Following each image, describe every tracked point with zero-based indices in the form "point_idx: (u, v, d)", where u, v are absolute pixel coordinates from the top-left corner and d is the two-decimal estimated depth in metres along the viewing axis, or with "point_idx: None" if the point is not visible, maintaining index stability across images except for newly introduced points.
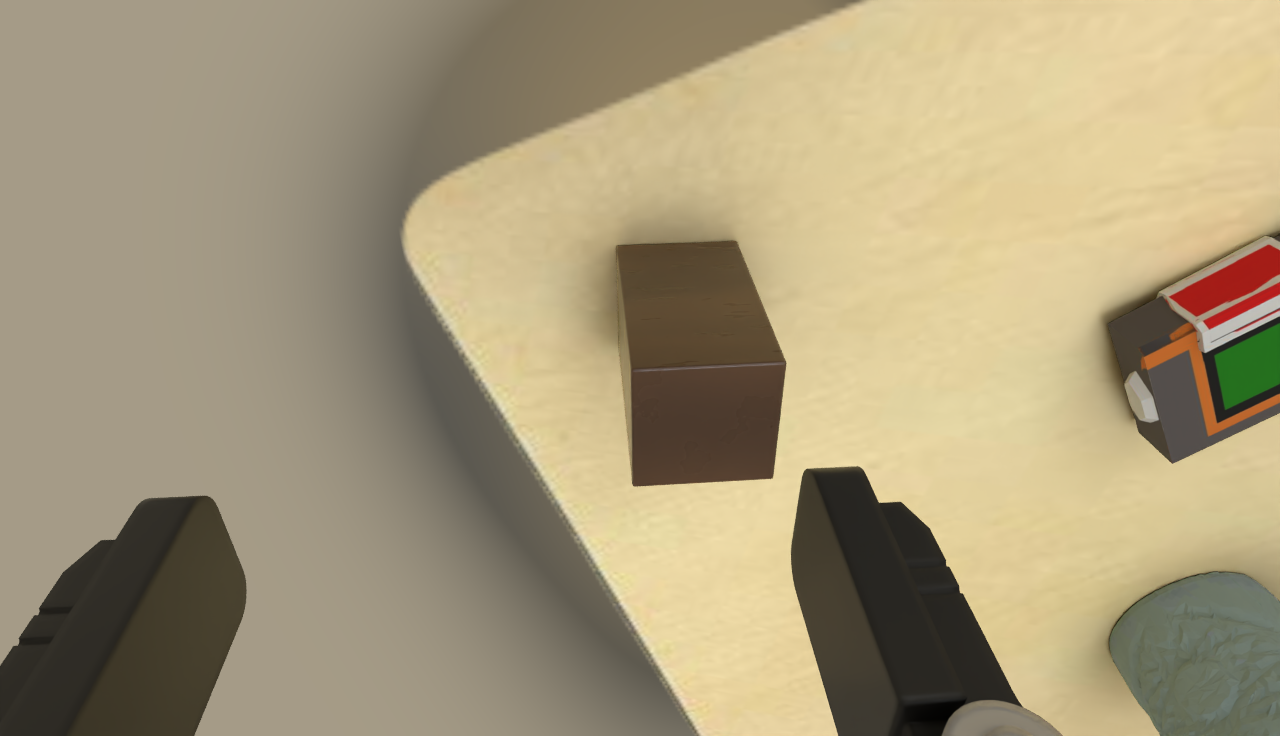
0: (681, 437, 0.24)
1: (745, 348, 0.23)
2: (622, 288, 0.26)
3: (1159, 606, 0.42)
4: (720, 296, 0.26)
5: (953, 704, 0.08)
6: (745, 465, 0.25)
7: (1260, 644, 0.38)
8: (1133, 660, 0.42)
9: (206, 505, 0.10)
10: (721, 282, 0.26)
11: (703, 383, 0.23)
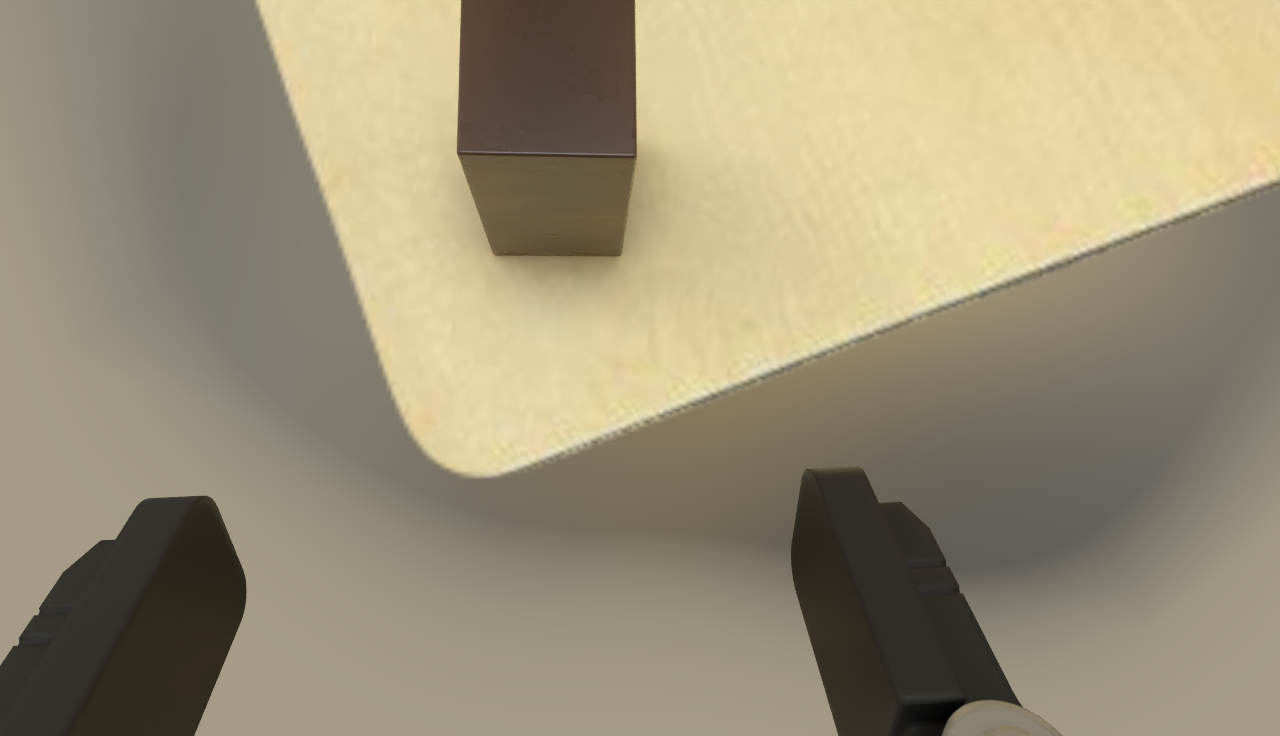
0: (559, 100, 0.20)
1: None
2: (481, 220, 0.24)
3: None
4: None
5: (953, 704, 0.08)
6: (610, 28, 0.20)
7: None
8: None
9: (206, 505, 0.10)
10: None
11: (483, 76, 0.20)
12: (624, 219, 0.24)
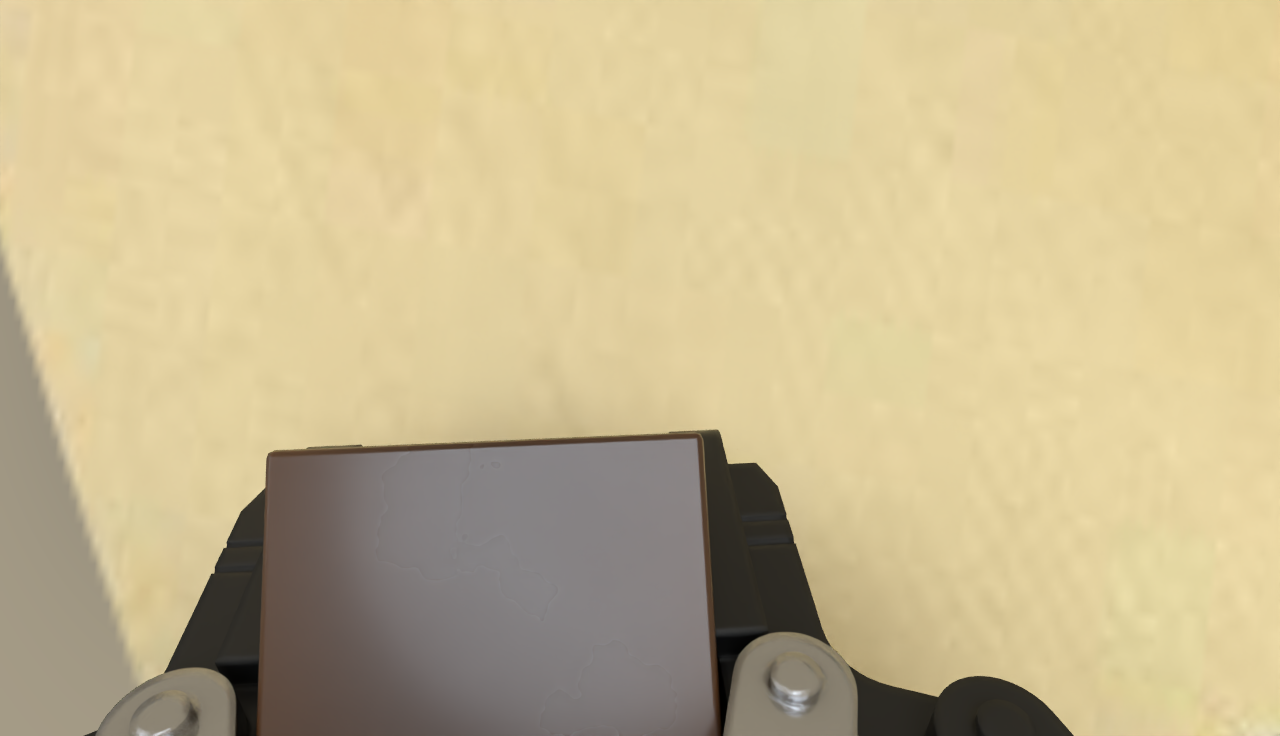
0: None
1: None
2: None
3: None
4: None
5: (756, 636, 0.08)
6: (645, 526, 0.08)
7: None
8: None
9: None
10: None
11: (319, 696, 0.08)
12: None
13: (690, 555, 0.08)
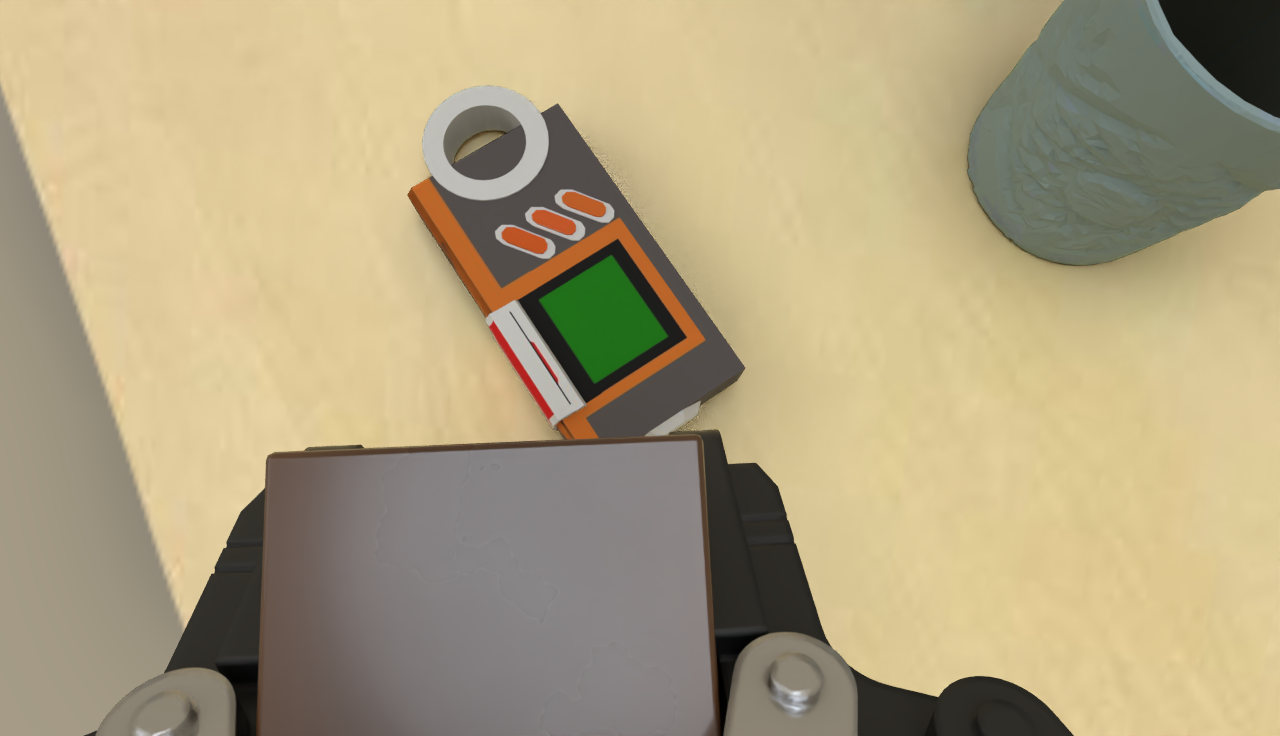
0: None
1: None
2: None
3: (1021, 236, 0.32)
4: None
5: (756, 637, 0.08)
6: (645, 528, 0.08)
7: (1025, 145, 0.28)
8: (1113, 250, 0.30)
9: None
10: None
11: (319, 697, 0.08)
12: None
13: (690, 557, 0.08)
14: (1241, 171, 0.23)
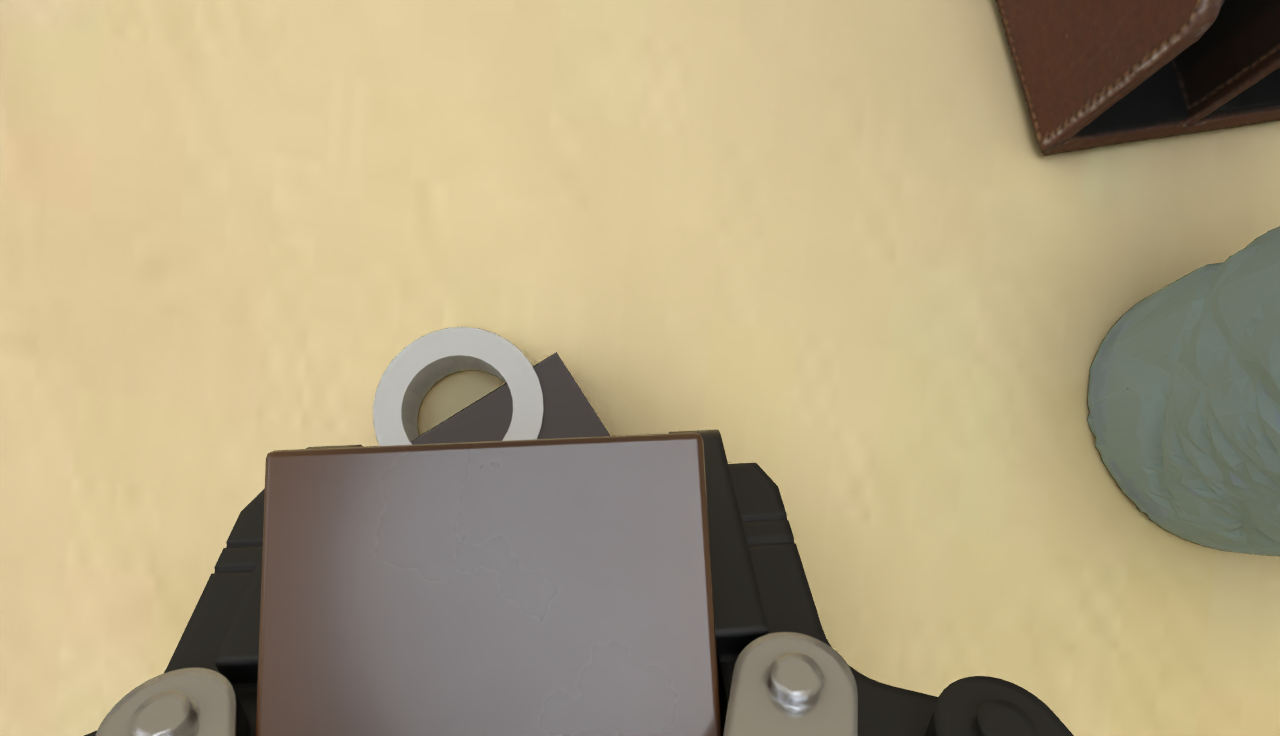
0: None
1: None
2: None
3: (1165, 519, 0.24)
4: None
5: (756, 637, 0.08)
6: (645, 526, 0.08)
7: (1194, 440, 0.21)
8: None
9: None
10: None
11: (319, 696, 0.08)
12: None
13: (690, 555, 0.08)
14: None
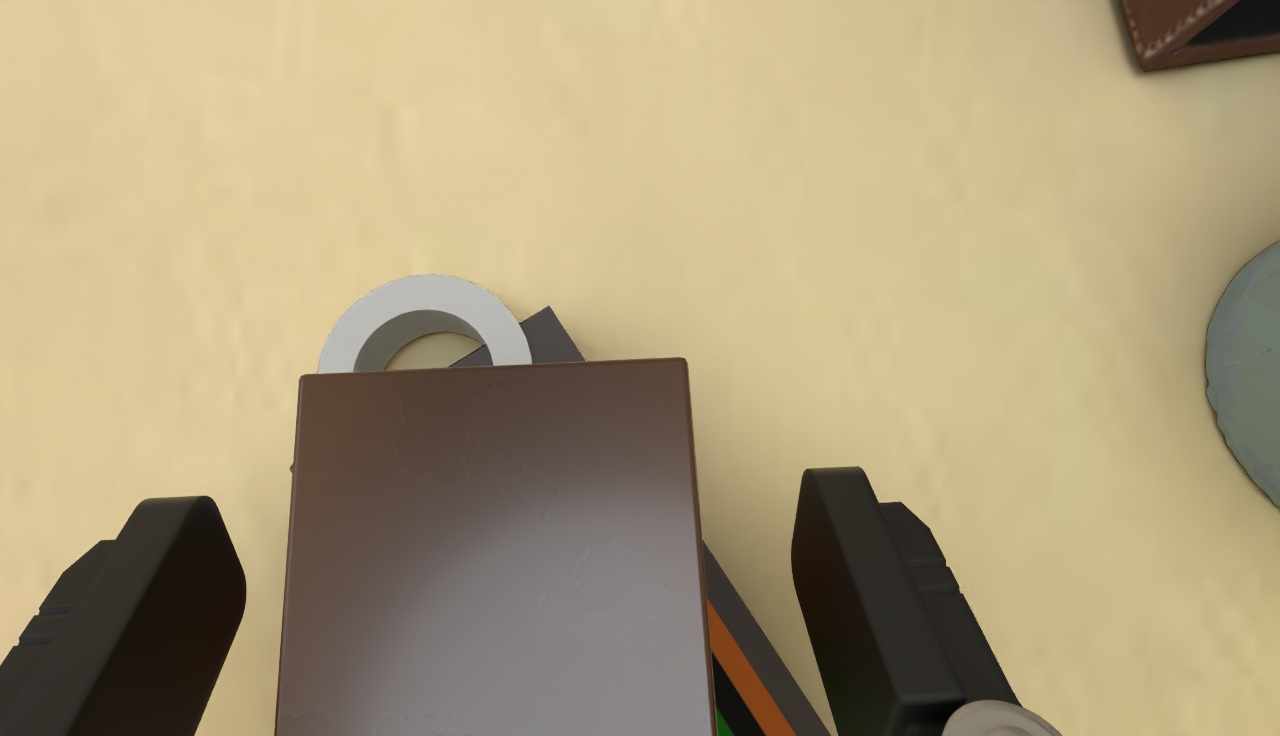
0: (525, 633, 0.08)
1: None
2: None
3: None
4: None
5: (953, 704, 0.08)
6: (636, 436, 0.09)
7: None
8: None
9: (206, 505, 0.10)
10: None
11: (340, 585, 0.08)
12: None
13: (677, 462, 0.09)
14: None
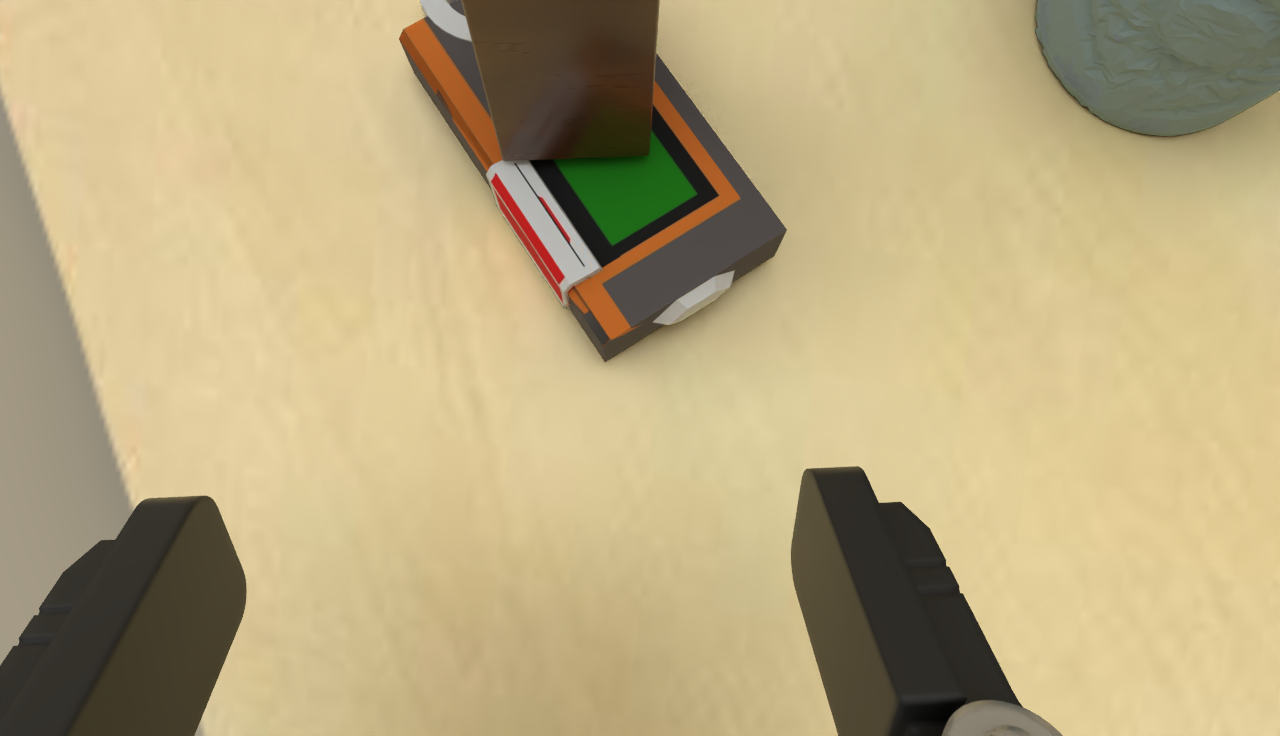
0: None
1: None
2: (485, 92, 0.21)
3: (1100, 98, 0.28)
4: None
5: (953, 704, 0.08)
6: None
7: None
8: (1209, 109, 0.26)
9: (206, 505, 0.10)
10: None
11: None
12: (651, 79, 0.21)
13: None
14: None
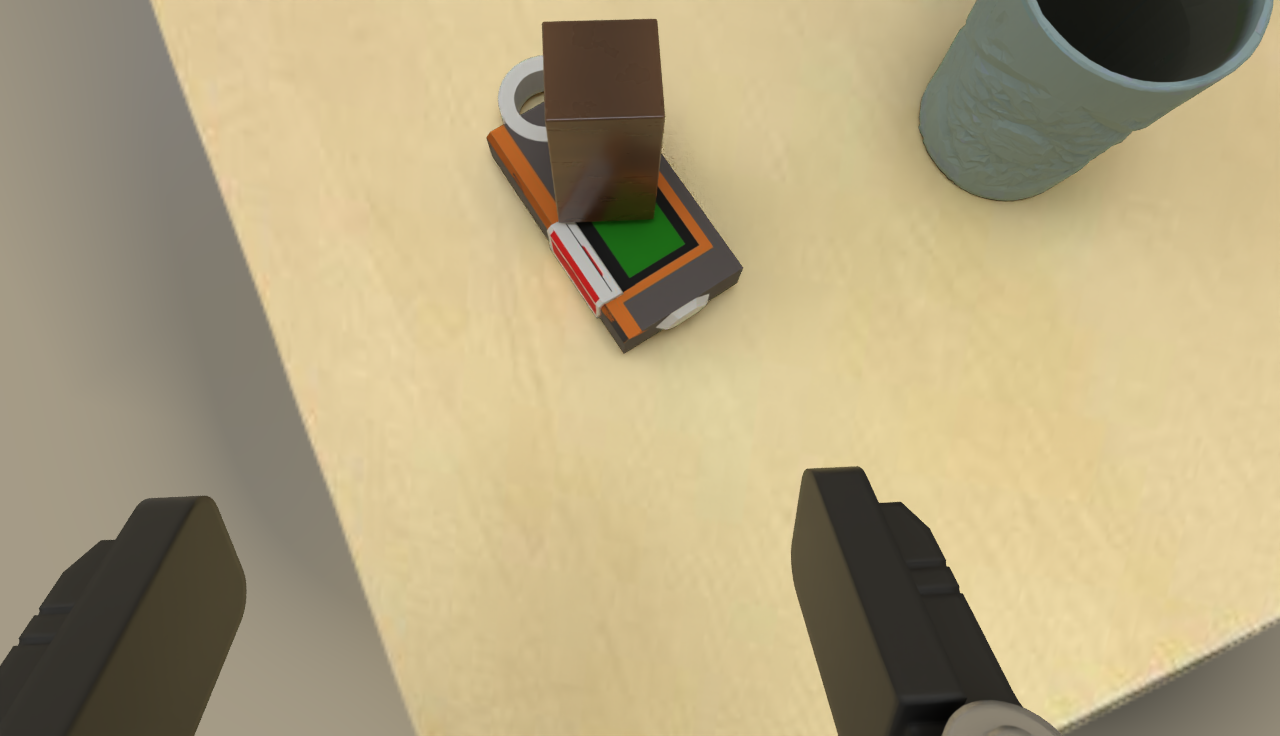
0: (611, 84, 0.30)
1: None
2: (554, 186, 0.34)
3: (958, 176, 0.41)
4: None
5: (953, 704, 0.08)
6: (641, 38, 0.30)
7: (956, 102, 0.37)
8: (1027, 186, 0.40)
9: (206, 505, 0.10)
10: None
11: (559, 72, 0.30)
12: (656, 179, 0.34)
13: (653, 45, 0.30)
14: (1098, 113, 0.32)
